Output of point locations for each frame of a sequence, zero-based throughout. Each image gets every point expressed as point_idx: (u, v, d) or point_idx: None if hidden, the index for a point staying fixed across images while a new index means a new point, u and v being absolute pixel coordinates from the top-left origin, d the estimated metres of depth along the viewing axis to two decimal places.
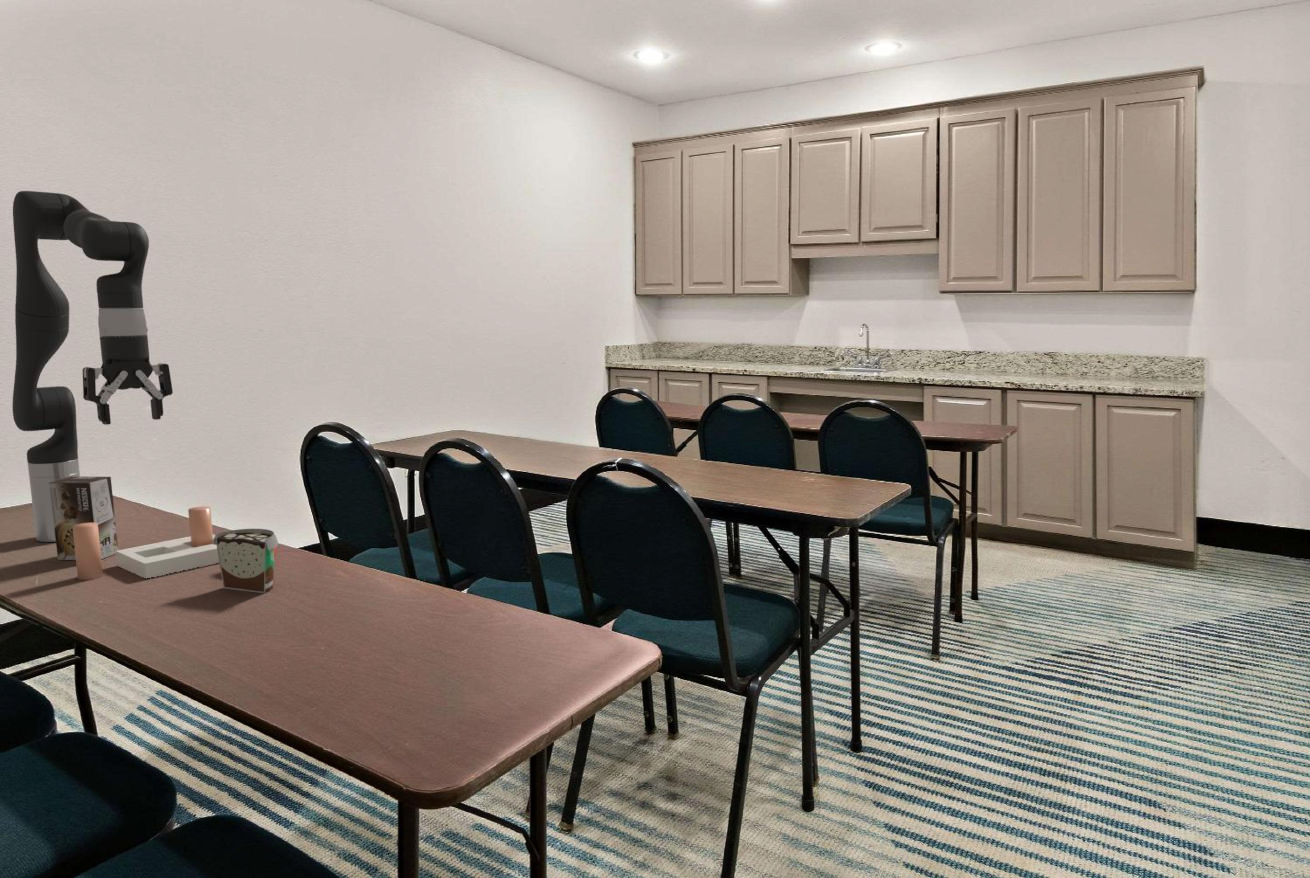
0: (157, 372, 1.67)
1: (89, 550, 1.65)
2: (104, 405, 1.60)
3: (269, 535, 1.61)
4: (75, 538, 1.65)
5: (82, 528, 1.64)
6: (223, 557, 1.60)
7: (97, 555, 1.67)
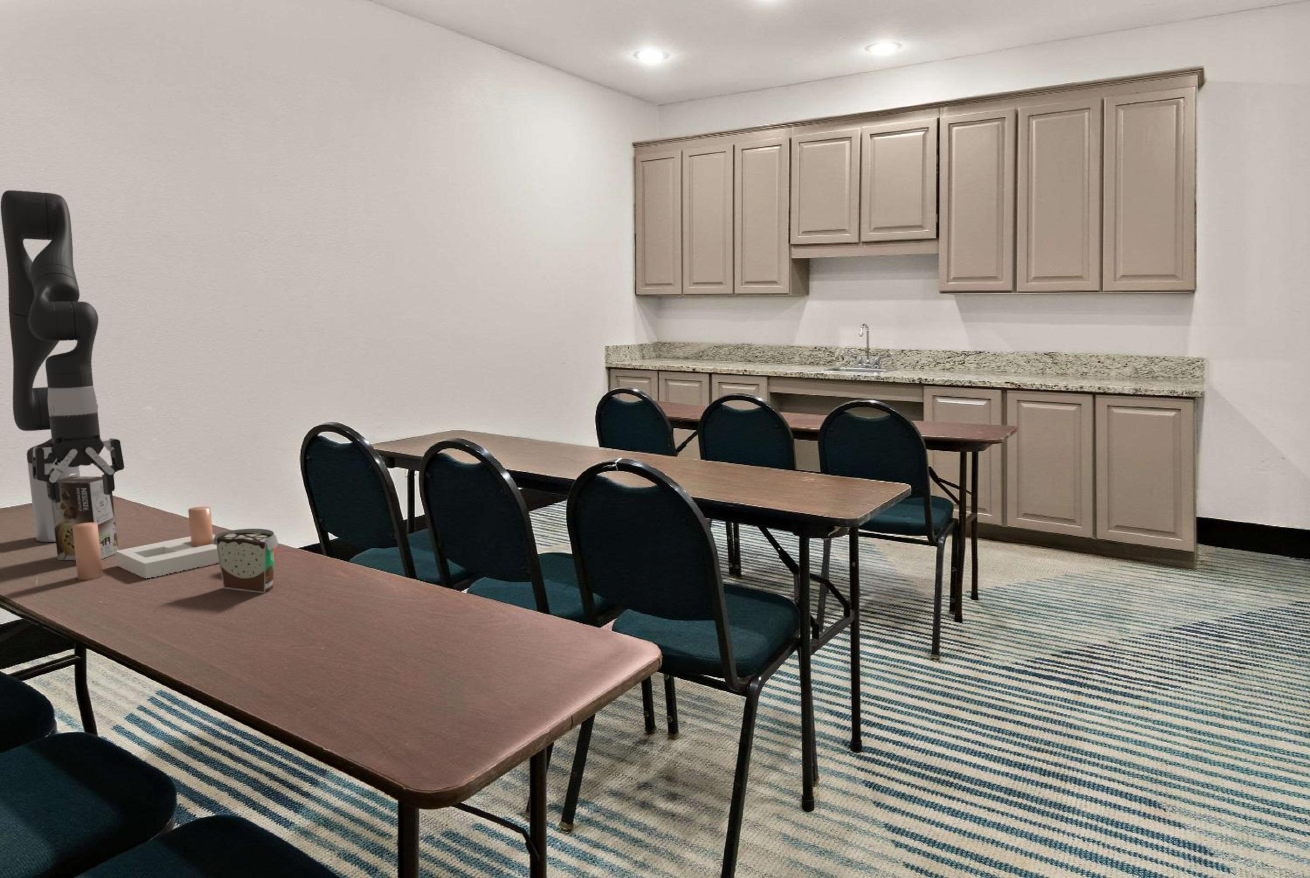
0: (108, 448, 1.68)
1: (88, 550, 1.65)
2: (53, 483, 1.61)
3: (269, 535, 1.61)
4: (75, 538, 1.65)
5: (82, 528, 1.64)
6: (223, 557, 1.60)
7: (97, 555, 1.67)
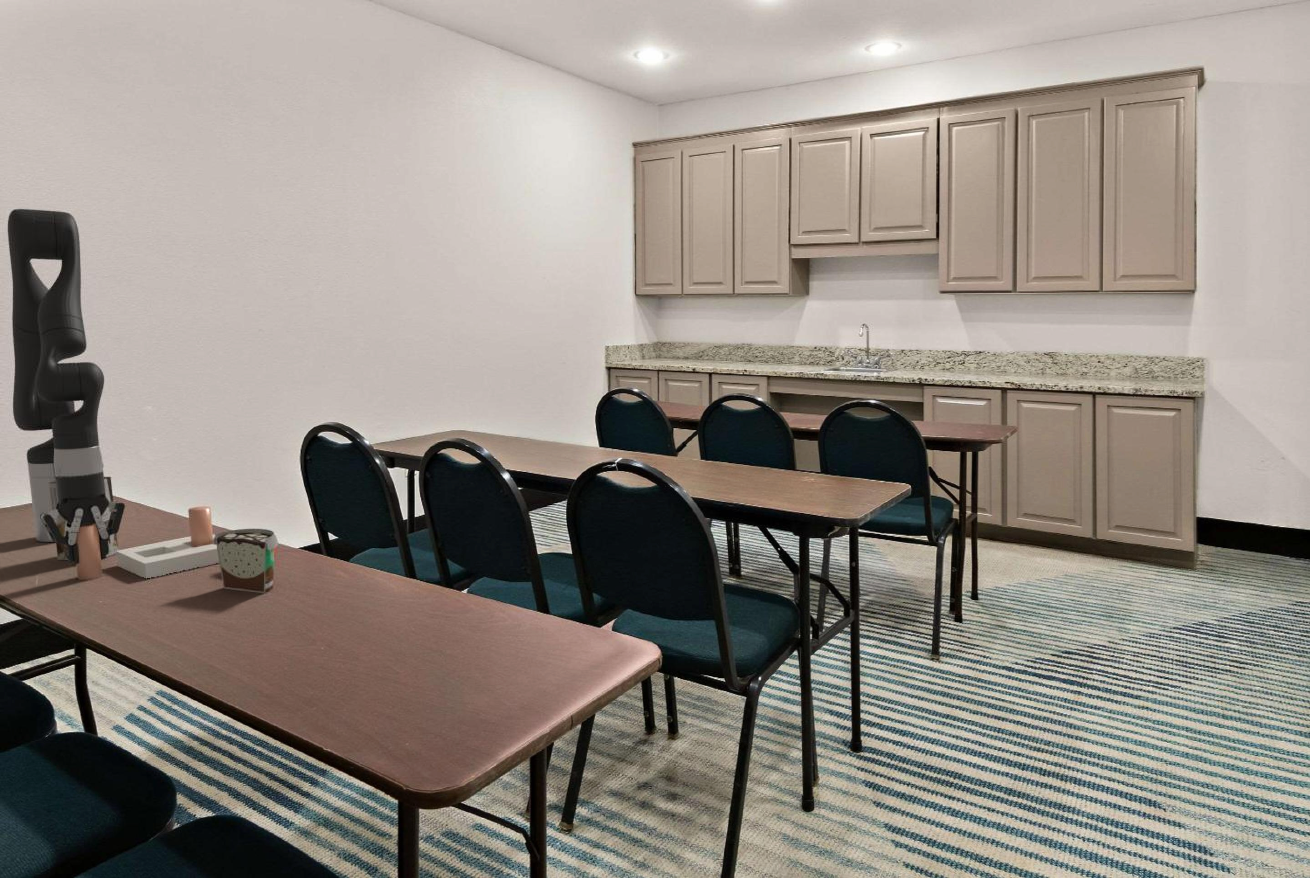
0: (111, 509, 1.69)
1: (88, 550, 1.65)
2: (72, 545, 1.64)
3: (269, 535, 1.61)
4: None
5: (82, 528, 1.64)
6: (223, 557, 1.60)
7: (97, 555, 1.67)
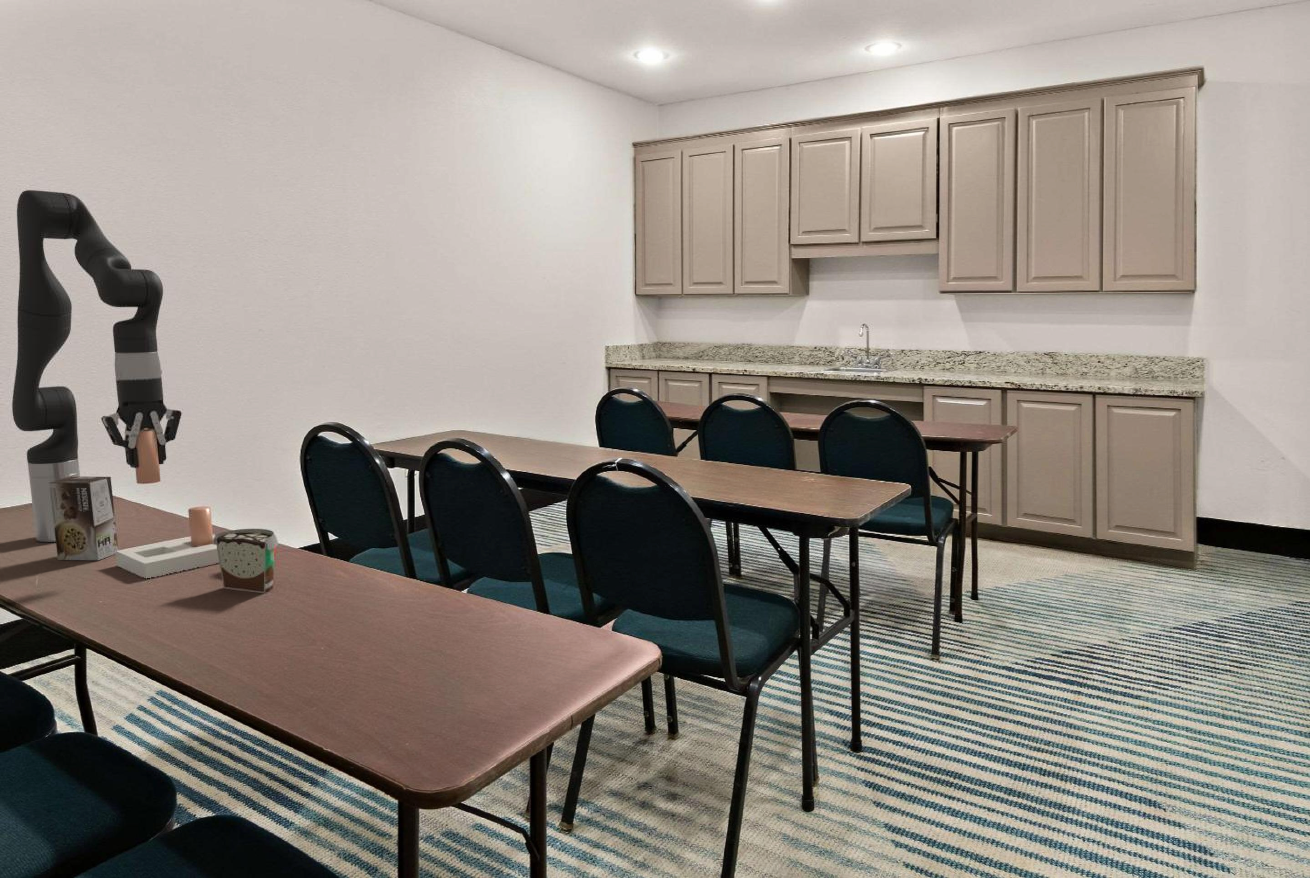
0: (168, 416, 1.73)
1: (148, 454, 1.69)
2: (132, 449, 1.68)
3: (269, 535, 1.61)
4: None
5: (142, 432, 1.68)
6: (223, 557, 1.60)
7: (156, 460, 1.70)
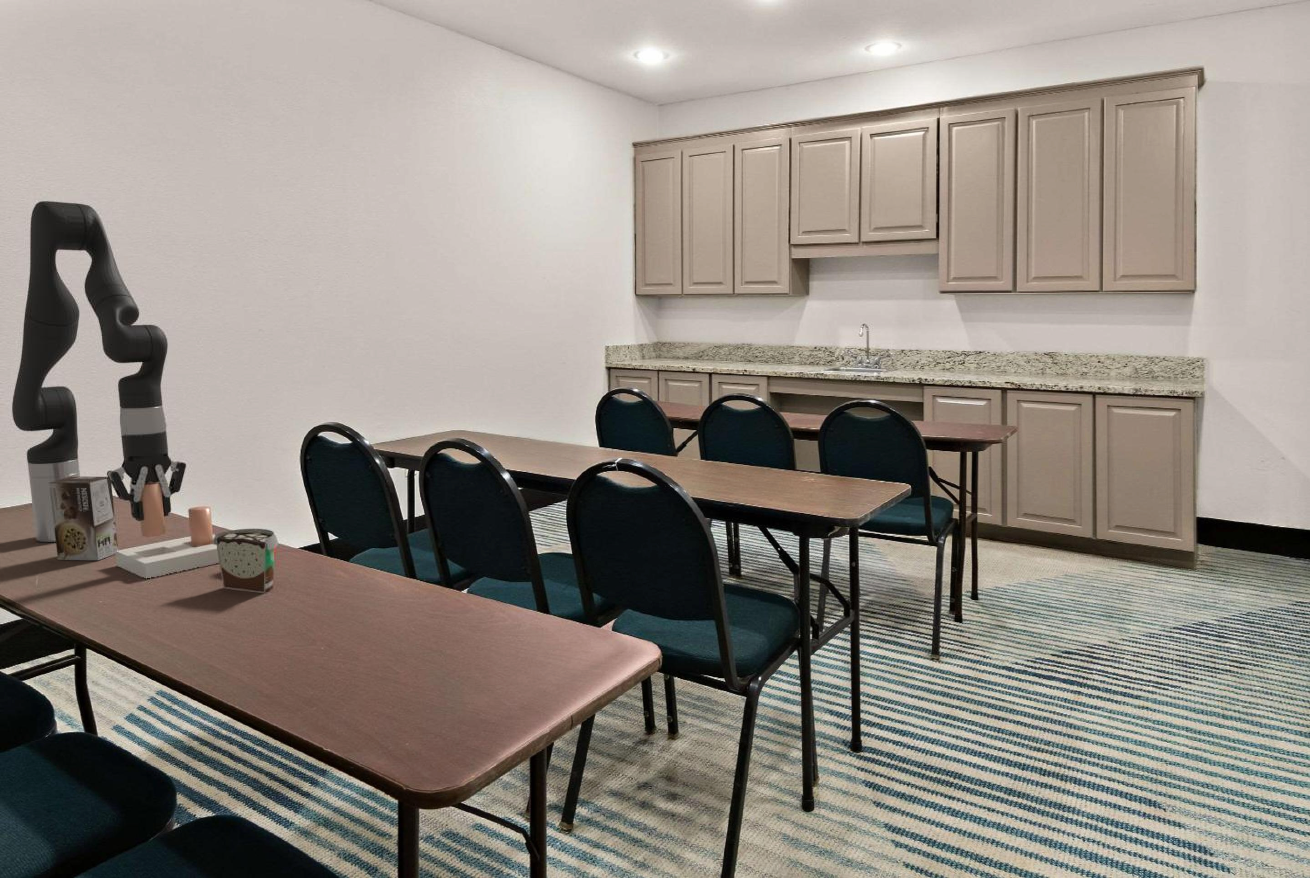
0: (173, 468, 1.74)
1: (153, 508, 1.70)
2: (137, 502, 1.69)
3: (269, 535, 1.61)
4: None
5: (147, 486, 1.70)
6: (223, 557, 1.60)
7: (161, 513, 1.72)
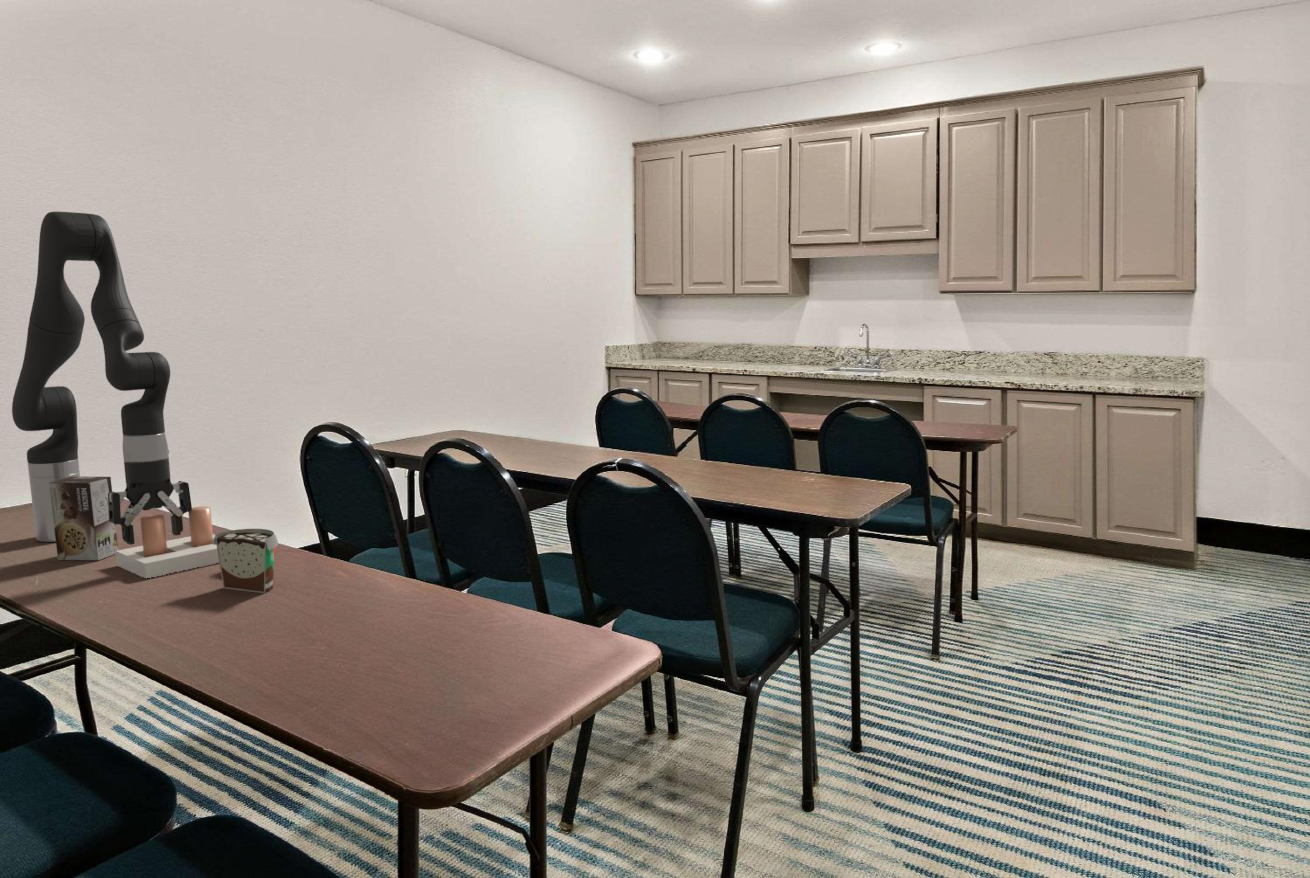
0: (177, 490, 1.75)
1: (156, 541, 1.72)
2: (128, 526, 1.69)
3: (269, 535, 1.61)
4: (143, 529, 1.71)
5: (150, 520, 1.71)
6: (223, 557, 1.60)
7: (164, 546, 1.73)
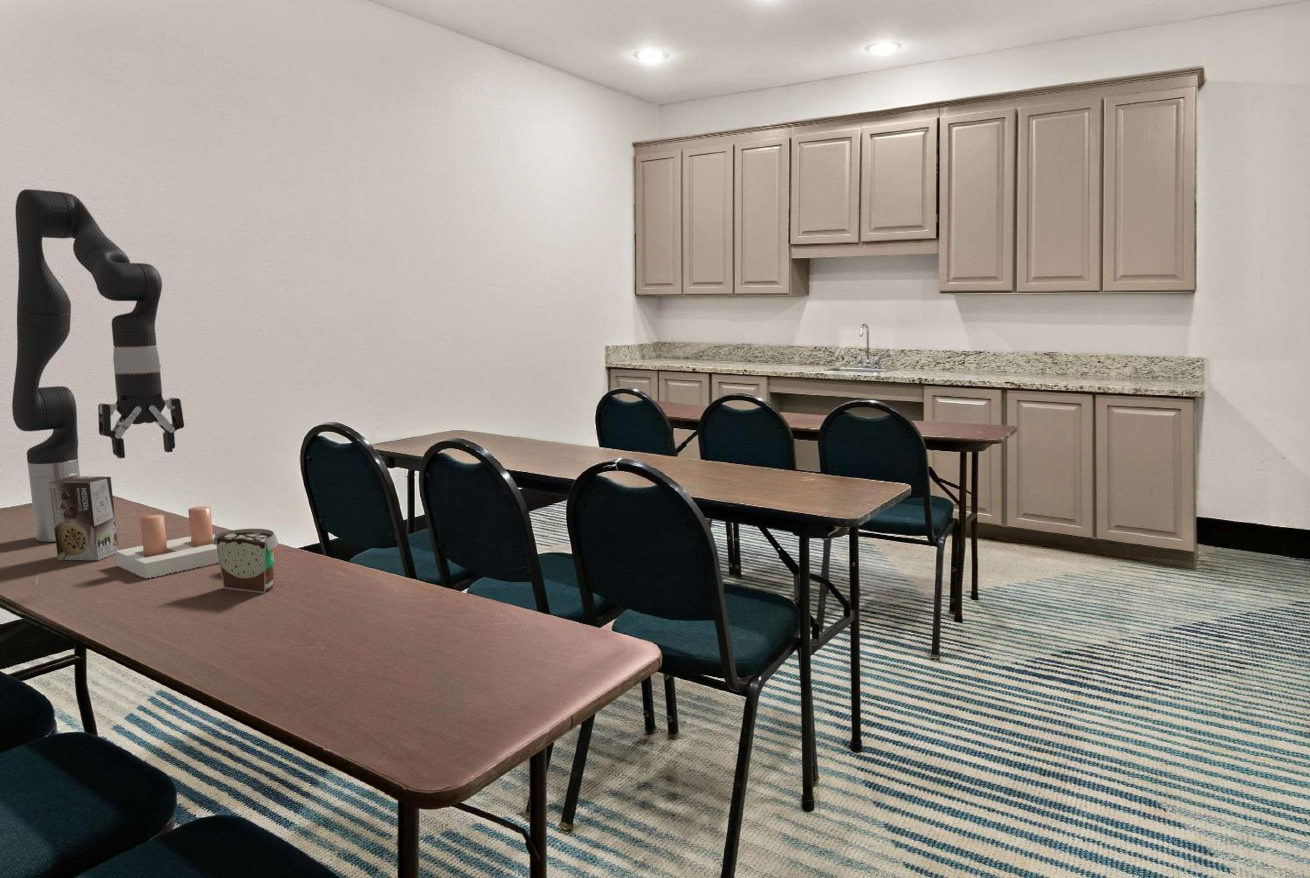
0: (169, 406, 1.73)
1: (156, 541, 1.72)
2: (118, 439, 1.66)
3: (269, 535, 1.61)
4: (143, 529, 1.71)
5: (150, 520, 1.71)
6: (223, 557, 1.60)
7: (164, 546, 1.73)
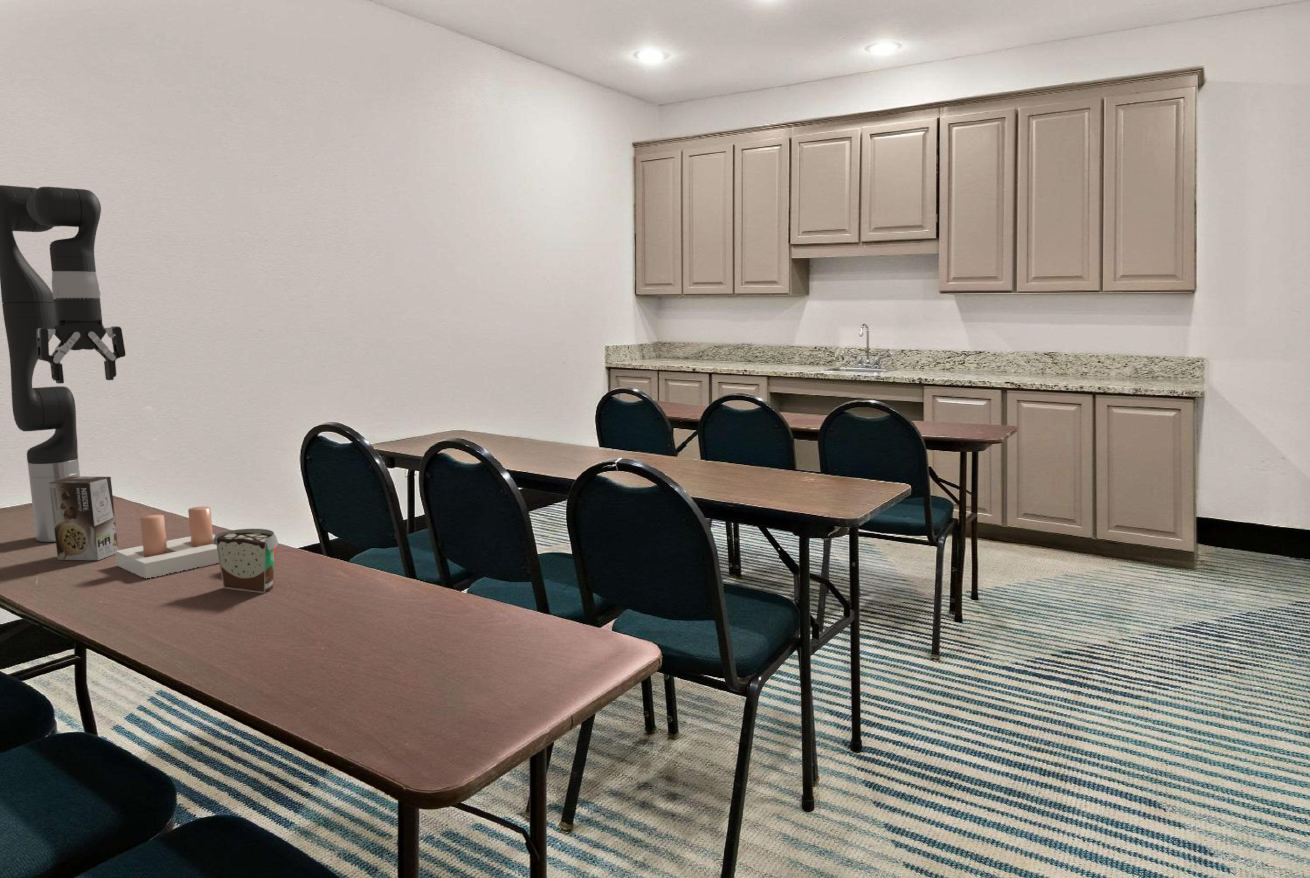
0: (110, 334, 1.73)
1: (156, 541, 1.72)
2: (57, 364, 1.67)
3: (269, 535, 1.61)
4: (143, 529, 1.71)
5: (150, 520, 1.71)
6: (223, 557, 1.60)
7: (164, 546, 1.73)
